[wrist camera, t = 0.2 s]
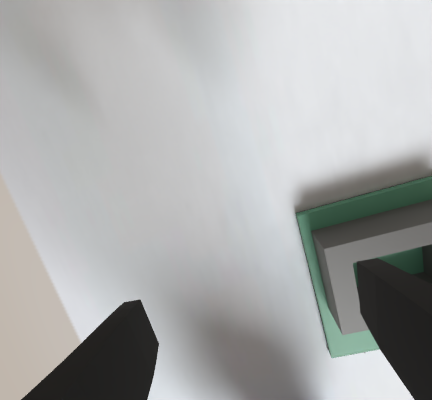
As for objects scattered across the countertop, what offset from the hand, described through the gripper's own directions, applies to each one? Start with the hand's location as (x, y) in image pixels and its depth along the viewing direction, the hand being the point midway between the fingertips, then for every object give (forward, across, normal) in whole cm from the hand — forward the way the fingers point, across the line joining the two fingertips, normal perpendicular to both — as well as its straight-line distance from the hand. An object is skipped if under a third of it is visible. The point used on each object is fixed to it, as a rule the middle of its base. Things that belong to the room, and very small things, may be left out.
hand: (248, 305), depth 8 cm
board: (+10, -12, +8) cm, 18 cm away
